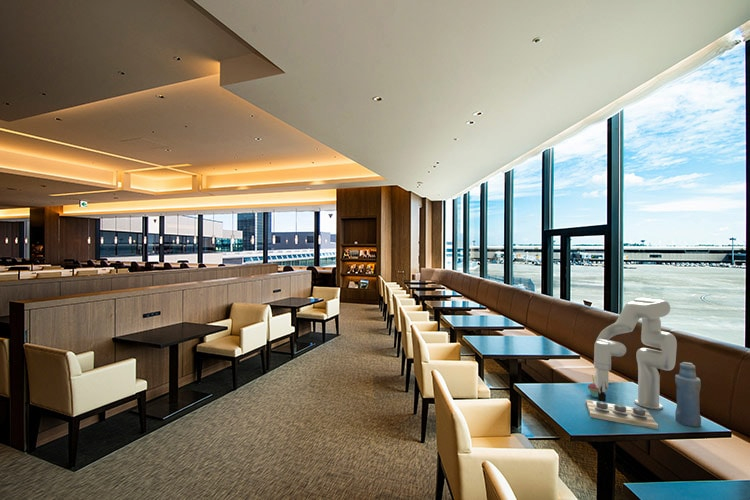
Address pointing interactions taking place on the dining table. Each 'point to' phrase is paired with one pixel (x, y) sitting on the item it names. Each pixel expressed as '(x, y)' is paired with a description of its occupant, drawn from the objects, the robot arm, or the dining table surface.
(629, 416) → the button board
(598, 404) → the button far
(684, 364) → the bottle
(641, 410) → the button near bottle
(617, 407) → the button middle
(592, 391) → the cupcake
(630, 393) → the dining table surface
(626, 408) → the pattern card
